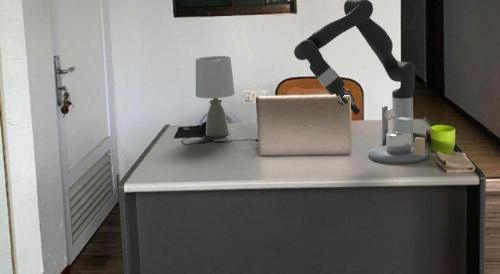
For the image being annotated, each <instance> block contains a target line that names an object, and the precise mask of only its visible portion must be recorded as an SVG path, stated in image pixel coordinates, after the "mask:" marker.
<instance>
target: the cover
mask: <svg viewBox="0 0 500 274" xmlns="http://www.w3.org/2000/svg"><path fill="white" fill-rule="evenodd" d="M386 152H387V153H388V154H392V155H406V154H410V153H411V133H409V132H403V131H395V132H392V131H390V132H389V131H388V133H387V134H386Z"/></svg>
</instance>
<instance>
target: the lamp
mask: <svg viewBox="0 0 500 274" xmlns="http://www.w3.org/2000/svg"><path fill="white" fill-rule="evenodd" d="M231 58H232V57H230V56H226V55H224V56H223V55H215V56H213V55H212V56H204V57H198V58H197V57H196V59H195V97H197V98H200V99H211V100H209V101H208V102H209V104H210V106H209V108H208V112H207V116H206V124H205V126H206V127H205V135H206V137H208V136H209V138H223V137H226V136H229V134H230V130H229V125H228V120H227V115H226V113H225V110H224V108H223V106H222V99H221V98H228V97H232V96H234V95H235V93H236V92H235V84H234V77H233V76H234V74H233V69H232V61H231V60H232V59H231Z"/></svg>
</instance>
